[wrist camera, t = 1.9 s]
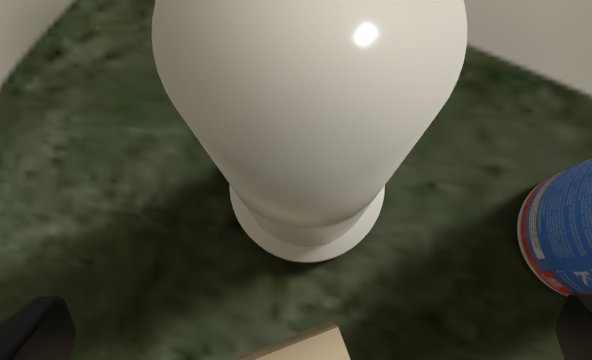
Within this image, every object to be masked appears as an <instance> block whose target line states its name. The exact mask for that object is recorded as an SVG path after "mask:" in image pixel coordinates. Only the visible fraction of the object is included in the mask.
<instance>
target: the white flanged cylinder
mask: <svg viewBox="0 0 592 360" xmlns="http://www.w3.org/2000/svg"><path fill="white" fill-rule="evenodd" d="M152 45H153V55H154V59H155V63H156V67H157V71H158V74H159V76H160V79H161V81H162V84H163V86H164V88H165V91H166V93H167V94H168V96H169V98H170V99H171V101H172V103H173V104H174V106H175V108H176V109H177V110H178V112H179V113H180V115H181V116H182V117H183V119H184V120H185V122H186V123H187V124H188V126H189V127H190V129H191V130H192V132H193V133H194V134H195V136H196V137H197V139H198V140H199V141H200V143H201V144H202V146H203V147H204V148H205V150H206V151H207V153H208V154H209V156H210V157H211V158H212V160H213V161H214V163H215V164H216V165H217V167H218V168H219V170H220V171H221V172H222V174H223V175H224V177H225V178H226V179H227V181H228V182H229V184H230V198H231V203H232V206H233V210H234V212H235V215H236V217H237V219H238V221H239V223H240V224H241V226H242V228H243V229H244V230H245V232H246V233H247V234H248V235H249V237H250V238H251V239H253V240H254V241H255V242H256V243H257V244H258V245H259V246H260V247H261V248H263V249H264V250H265V251H267V252H268V253H270V254H272V255H274V256H276V257H278V258H281V259H284V260H287V261H291V262H296V263H317V262H323V261H327V260H330V259H333V258H336V257H338V256H340V255H342V254H344V253H346V252H347V251H349V250H350V249H352V248H353V247H354V246H355V245H356V244H358V243H359V242H360V241H361V240H362V239H363V238H364V237H365V236H366V234H367V233H368V232H369V231H370V229H371V228H372V226H373V225H374V224H375V222H376V220H377V218H378V216H379V213H380V210H381V207H382V204H383V199H384V189H385V184H386V183H387V181H388V180H389V179H390V177H391V176H392V175H393V173H394V172H395V171H396V169H397V168H398V167H399V165H400V164H401V163H402V161H403V160H404V158H405V157H406V156H407V154H408V153H409V152H410V150H411V149H412V148H413V146H414V145H415V144H416V142H417V141H418V140H419V138H420V137H421V136H422V134H423V133H424V132H425V130H426V129H427V128H428V126H429V125H430V124H431V122H432V121H433V119H434V118H435V117H436V115H437V114H438V113H439V111H440V110H441V108H442V107H443V105H444V104H445V103H446V101H447V100H448V98H449V97H450V94H451V92H452V90H453V88H454V86H455V84H456V82H457V80H458V78H459V75H460V71H461V68H462V65H463V62H464V57H465V51H466V45H467V19H466V11H465V5H464V1H463V0H156V2H155V7H154V13H153V18H152Z"/></svg>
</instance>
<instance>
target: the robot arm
mask: <svg viewBox="0 0 592 360" xmlns="http://www.w3.org/2000/svg"><path fill="white" fill-rule="evenodd" d="M556 334H557V338H558V341H559V344H560V347H561V349H562V352H563V355H564V358H565V360H592V292H571V293H570V294H569V295H568V296H567V298H566V300H565V303H564V305H563V308H562V310H561V313H560V315H559V318H558V320H557V323H556ZM75 336H76V330H75V326H74V323H73V320H72V318H71V315H70V313H69V310H68V308H67V305H66V303H65V301H64V300H63V299H62V298H61V297H38V298H35V299H34V300H32V301H31V302H29V303H28V304H27V305H25V306H24V307H23V308H21V309H20V310H19V311H17V312H16V313H14V314H13V315H12V316H10V317H9V318H8V319H6V320H5V321H4V322H2V323H1V324H0V360H69V358H70V355H71V352H72V348H73V345H74V341H75Z"/></svg>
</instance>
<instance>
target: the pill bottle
mask: <svg viewBox="0 0 592 360" xmlns="http://www.w3.org/2000/svg"><path fill="white" fill-rule="evenodd" d="M517 236H518V242H519V246H520V249H521V252H522V254H523V257H524V259H525V260H526V262H527V264H528V266H529V267H530V269H531V270H532V271H533V272H534V274H535V275H536V276H537V277H538V278H539V279H540V280H541V281H542V282H543V283H545V284H546V285H547V286H549V287H550V288H551V289H553V290H555V291H556V292H558V293H560V294H563V295H565V296H568V295H569V294H570V293H571V292H592V159H589V160H587V161H585V162H583V163H580V164H578V165H576V166H574V167H571V168H569V169H567V170H564V171H562V172H560V173H558V174H555V175H553V176H551V177H550V178H548V179H546V180H544V181H543V182H541V183H540V184H539V185H537V186H536V187H535V188H534V189H533V190H532V191H531V192H530V193H529V195H528V196H527V198H526V199H525V201H524V203H523V205H522V207H521V209H520V213H519V217H518V223H517Z"/></svg>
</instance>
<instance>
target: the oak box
mask: <svg viewBox="0 0 592 360" xmlns="http://www.w3.org/2000/svg"><path fill="white" fill-rule="evenodd" d="M232 360H350V357H349V354H348V352H347V349H346V346H345V344H344V341H343V338H342V336H341V333H340V330H339V328H338V326H337V325H336V324H335V323H334V322H333V321H329V322H327V323H324V324H321V325H319V326H316V327H314V328H311V329H309V330H306V331H304V332H301V333H298V334H296V335H293V336H291V337H288V338H286V339H283V340H281V341H278V342H275V343H273V344H270V345H268V346H265V347H263V348H260V349H257V350H255V351H252V352H250V353H247V354H245V355H242V356H240V357H237V358H234V359H232Z"/></svg>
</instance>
